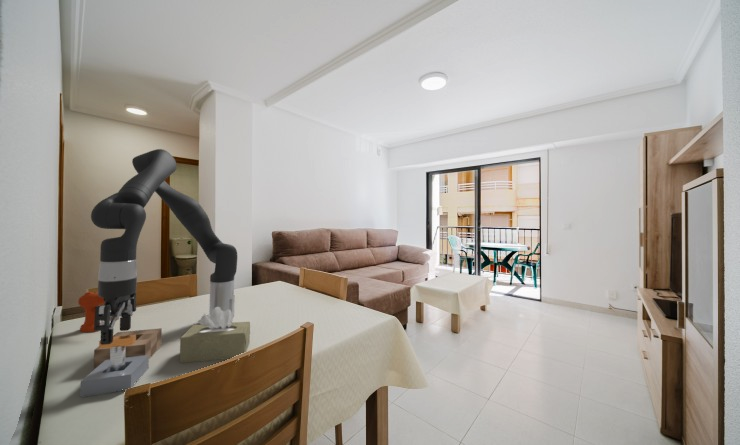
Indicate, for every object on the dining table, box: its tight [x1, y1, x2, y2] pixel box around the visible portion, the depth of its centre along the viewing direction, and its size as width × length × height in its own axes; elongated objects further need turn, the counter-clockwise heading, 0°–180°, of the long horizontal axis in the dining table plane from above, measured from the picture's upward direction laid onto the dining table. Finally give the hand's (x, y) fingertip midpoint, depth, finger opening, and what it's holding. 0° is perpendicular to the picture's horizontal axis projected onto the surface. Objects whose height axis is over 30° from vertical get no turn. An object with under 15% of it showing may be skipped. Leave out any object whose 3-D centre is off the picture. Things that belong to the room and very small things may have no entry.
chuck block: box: [93, 327, 163, 370], centre depth 83 cm, size 12×12×6 cm
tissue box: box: [179, 307, 251, 364], centre depth 88 cm, size 19×10×16 cm, turn 105°
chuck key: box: [98, 335, 136, 372], centre depth 71 cm, size 7×3×12 cm, turn 110°
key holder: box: [79, 355, 150, 398], centre depth 71 cm, size 10×10×4 cm
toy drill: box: [77, 291, 105, 333], centre depth 101 cm, size 5×19×15 cm, turn 91°
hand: (116, 336), depth 71 cm, fingers open, 8 cm apart
